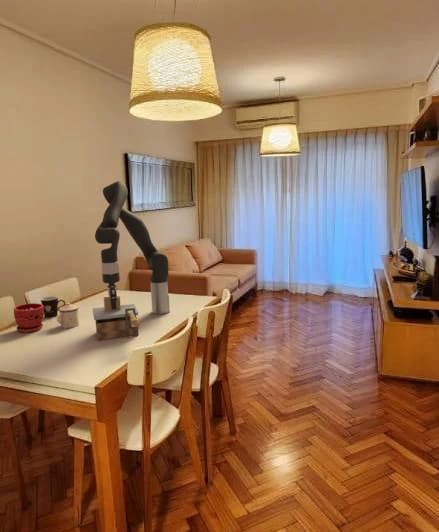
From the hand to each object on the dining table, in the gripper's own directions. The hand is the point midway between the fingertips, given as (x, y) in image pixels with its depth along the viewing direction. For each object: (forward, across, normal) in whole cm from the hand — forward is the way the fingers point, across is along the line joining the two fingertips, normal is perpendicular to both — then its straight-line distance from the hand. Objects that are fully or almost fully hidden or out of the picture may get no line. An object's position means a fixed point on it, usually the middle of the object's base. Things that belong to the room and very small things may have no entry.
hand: (113, 307), depth 181 cm
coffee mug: (+13, -43, -29) cm, 53 cm away
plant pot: (+13, -23, -38) cm, 46 cm away
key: (+3, +17, +6) cm, 18 cm away
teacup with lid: (+13, -21, -21) cm, 32 cm away
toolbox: (+12, +2, 0) cm, 13 cm away
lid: (+2, +1, 0) cm, 3 cm away
